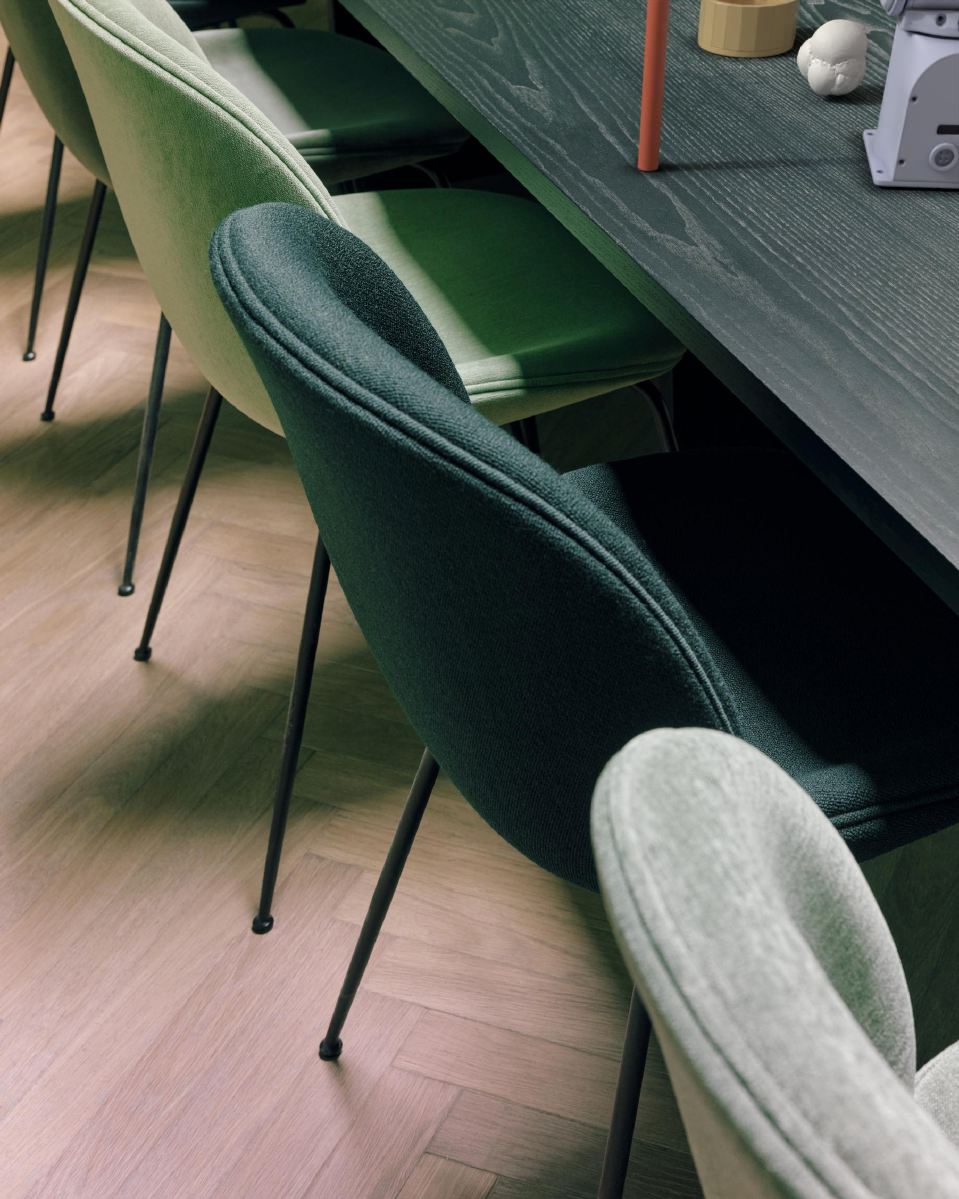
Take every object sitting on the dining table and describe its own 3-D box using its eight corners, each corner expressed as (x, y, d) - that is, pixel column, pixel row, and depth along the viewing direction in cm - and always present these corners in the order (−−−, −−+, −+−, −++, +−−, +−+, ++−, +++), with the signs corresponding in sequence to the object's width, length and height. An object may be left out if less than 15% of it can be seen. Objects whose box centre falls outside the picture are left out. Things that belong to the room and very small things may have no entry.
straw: (657, 171, 83) (669, -1, 76) (637, 171, 84) (647, -1, 76) (658, 164, 84) (670, -7, 77) (638, 163, 85) (648, -7, 77)
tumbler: (795, 58, 101) (802, 7, 98) (696, 56, 102) (700, 5, 100) (791, 29, 107) (798, -20, 105) (698, 28, 108) (702, -21, 106)
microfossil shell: (850, 109, 92) (863, 32, 88) (782, 100, 94) (792, 24, 90) (866, 91, 94) (879, 15, 91) (799, 82, 96) (810, 8, 93)
